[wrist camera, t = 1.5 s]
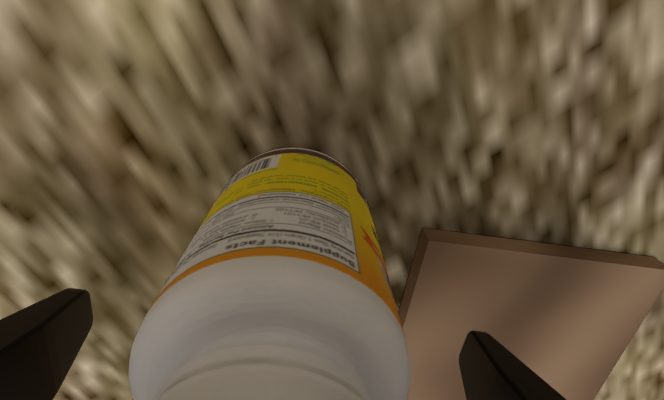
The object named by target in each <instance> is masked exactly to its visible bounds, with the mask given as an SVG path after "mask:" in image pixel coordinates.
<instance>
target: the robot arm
mask: <svg viewBox="0 0 664 400" xmlns="http://www.w3.org/2000/svg"><path fill="white" fill-rule="evenodd" d="M92 323H93V314H92V306H91V299H90V294H89V292H88V291H87V290H83V289H74V288H68V289H65V290H63V291H61V292H58V293H56V294H54V295H52V296H50V297H48V298H46V299H44V300H41V301H39V302H37V303H35V304H33V305H31V306H29V307H26V308H24V309H22V310H20V311H18V312H16V313H14V314H12V315H9V316H7V317H5V318H3V319H1V320H0V400H53V398H54V397H55V395H56V394H57V392H58V390H59V388H60V386H61V385H62V383H63V381H64V379H65V377H66V375H67V373H68V371H69V369H70V368H71V366H72V364H73V362H74V360H75V358H76V356H77V354H78V352H79V350H80V348H81V346H82V344H83V342H84V341H85V339H86V337H87V335H88V333H89V331H90V329H91V326H92ZM459 367H460V372H461V377H462V382H463V386H464V391H465V396H466V400H567V399H565V398H564V397H563V396H562V395H561V394H560V393H558V392H557V391H556V390H555V389H554V388H552V387H551V386H550V385H549V384H548V383H547V382H545V381H544V380H543V379H542V378H541V377H539V376H538V375H537V374H536V373H535V372H534V371H532V370H531V369H530V368H529V367H528V366H526V365H525V364H524V363H523V362H522V361H521V360H519V359H518V358H517V357H516V356H515V355H513V354H512V353H511V352H510V351H509V350H508V349H506V348H505V347H504V346H503V345H502V344H500V343H499V342H498V341H497V340H496V339H495V338H493V337H492V336H491V335H490V334H488V333H487V332H483V331H470V332H469V333H468V334H467V336H466V339H465V341H464V344H463V346H462V349H461V352H460V354H459Z"/></svg>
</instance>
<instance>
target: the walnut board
mask: <svg viewBox="0 0 664 400" xmlns="http://www.w3.org/2000/svg"><path fill="white" fill-rule="evenodd" d="M663 288H664V264H663V263H662V262H661V261H659V260H658V259H656V258H655V257H650V256H642V255H634V254H626V253H618V252H610V251H602V250H594V249H586V248H579V247H571V246H563V245H555V244H547V243H539V242H531V241H523V240H515V239H507V238H499V237H491V236H483V235H476V234H468V233H460V232H452V231H444V230H436V229H428V228H422V231H421V235H420V238H419V242H418V245H417V249H416V252H415V256H414V259H413V263H412V266H411V270H410V273H409V277H408V280H407V284H406V287H405V291H404V294H403V298H402V301H401V305H400V308H399V312H398V314H399V318H400V321H401V325H402V329H403V332H404V336H405V339H406V344H407V349H408V354H409V359H410V368H411V380H410V388H409V393H408V397H407V400H466V396H465V391H464V386H463V382H462V377H461V372H460V367H459V354H460V352H461V349H462V346H463V344H464V341H465V339H466V336H467V334H468V333H469V332H470V331H483V332H487V333H488V334H490V335H491V336H492V337H493V338H495V339H496V340H497V341H498V342H499V343H500V344H502V345H503V346H504V347H505V348H506V349H508V350H509V351H510V352H511V353H512V354H513V355H515V356H516V357H517V358H518V359H519V360H521V361H522V362H523V363H524V364H525V365H526V366H528V367H529V368H530V369H531V370H532V371H534V372H535V373H536V374H537V375H538V376H539V377H541V378H542V379H543V380H544V381H545V382H547V383H548V384H549V385H550V386H551V387H552V388H554V389H555V390H556V391H557V392H558V393H560V394H561V395H562V396H563V397H564V398H565V399H567V400H594V398H595V396H596V395H597V393H598V392H599V390H600V388H601V387H602V385H603V384H604V382H605V380H606V379H607V377H608V376H609V374H610V372H611V371H612V369H613V368H614V366H615V365H616V363H617V361H618V360H619V358H620V357H621V355H622V353H623V352H624V350H625V349H626V347H627V345H628V344H629V342H630V341H631V339H632V337H633V336H634V334H635V333H636V331H637V330H638V328H639V326H640V325H641V323H642V322H643V320H644V318H645V317H646V315H647V314H648V312H649V310H650V309H651V307H652V306H653V304H654V302H655V301H656V299H657V298H658V296H659V295H660V293H661V291H662V290H663Z"/></svg>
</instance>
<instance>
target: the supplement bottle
mask: <svg viewBox="0 0 664 400" xmlns="http://www.w3.org/2000/svg"><path fill="white" fill-rule="evenodd" d="M410 380H411V368H410V359H409V354H408V349H407V344H406V339H405V336H404V332H403V329H402V325H401V321H400V318H399V314H398V310H397V307H396V303H395V300H394V296H393V293H392V289H391V285H390V282H389V278H388V274H387V271H386V267H385V263H384V259H383V256H382V253H381V248H380V245H379V242H378V238H377V235H376V231H375V227H374V223H373V220H372V216H371V212H370V208H369V205H368V202H367V199H366V197H365V194H364V192H363V190H362V187H361V186H360V184H359V182H358V180H357V179H356V178H355V177H354V175H353V174H352V173H351V172H350V171H349V170H348V169H347V168H346V167H345V166H344V165H342V164H341V163H340V162H338V161H337V160H335V159H333V158H332V157H330V156H328V155H326V154H323V153H320V152H318V151H314V150H310V149H304V148H281V149H275V150H271V151H268V152H265V153H263V154H260V155H258V156H256V157H254V158H252V159H251V160H249V161H248V162H246V163H245V164H244V165H243V166H242V167H240V168H239V169H238V170H237V171H236V172H235V174H234V175H233V176H232V177H231V179H230V180H229V182H228V183H227V184H226V186H225V187H224V189H223V191H222V192H221V194H220V195H219V197H218V198H217V200H216V201H215V203H214V205H213V206H212V208H211V210H210V212H209V213H208V215H207V216H206V218H205V219H204V221H203V222H202V224H201V226H200V228H199V229H198V231H197V233H196V234H195V236H194V237H193V239H192V240H191V243H190V244H189V246H188V247H187V249H186V251H185V252H184V254H183V255H182V257H181V259H180V260H179V262H178V264H177V265H176V267H175V269H174V270H173V272H172V274H171V275H170V277H169V278H168V280H167V281H166V283H165V285H164V286H163V288H162V290H161V291H160V293H159V295H158V296H157V298H156V300H155V301H154V302H153V304H152V306H151V308H150V309H149V311H148V313H147V314H146V316H145V318H144V320H143V322H142V324H141V326H140V328H139V330H138V332H137V334H136V337H135V340H134V342H133V345H132V350H131V354H130V362H129V383H130V389H131V393H132V396H133V400H407V397H408V393H409V388H410Z"/></svg>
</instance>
